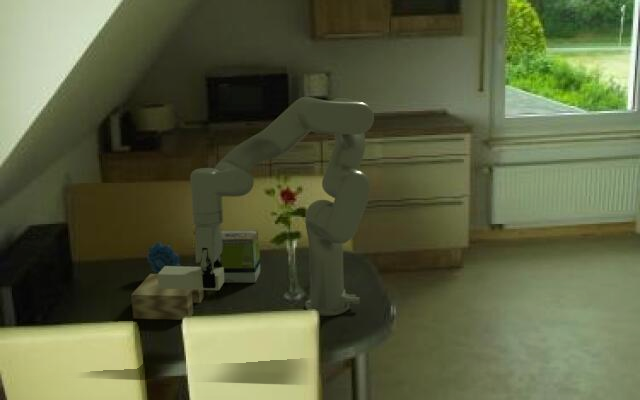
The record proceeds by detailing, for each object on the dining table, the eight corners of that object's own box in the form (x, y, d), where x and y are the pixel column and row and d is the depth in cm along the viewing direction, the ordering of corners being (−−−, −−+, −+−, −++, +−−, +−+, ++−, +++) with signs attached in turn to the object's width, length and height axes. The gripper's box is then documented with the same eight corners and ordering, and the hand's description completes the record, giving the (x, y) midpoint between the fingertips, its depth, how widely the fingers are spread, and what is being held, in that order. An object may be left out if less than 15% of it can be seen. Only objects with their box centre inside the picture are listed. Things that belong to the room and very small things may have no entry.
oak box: (203, 296, 212) (202, 274, 210) (188, 319, 197) (186, 295, 195) (152, 296, 214) (150, 273, 212) (133, 318, 199) (131, 294, 197)
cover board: (224, 281, 187) (223, 267, 186) (218, 290, 181) (218, 275, 180) (165, 279, 189) (164, 265, 188) (158, 288, 183) (157, 274, 182)
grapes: (142, 281, 226) (139, 246, 223) (152, 273, 232) (149, 239, 229) (176, 283, 223) (172, 248, 220) (185, 276, 229) (182, 241, 226)
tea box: (261, 272, 231) (258, 229, 227) (255, 283, 221) (252, 239, 217) (216, 271, 233) (213, 229, 229) (208, 283, 223) (205, 239, 219)
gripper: (202, 207, 188) (207, 270, 193) (183, 226, 172) (189, 295, 176) (230, 207, 187) (234, 271, 192) (214, 227, 171) (218, 296, 176)
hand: (212, 282), depth 184 cm, fingers closed on cover board, 6 cm apart
